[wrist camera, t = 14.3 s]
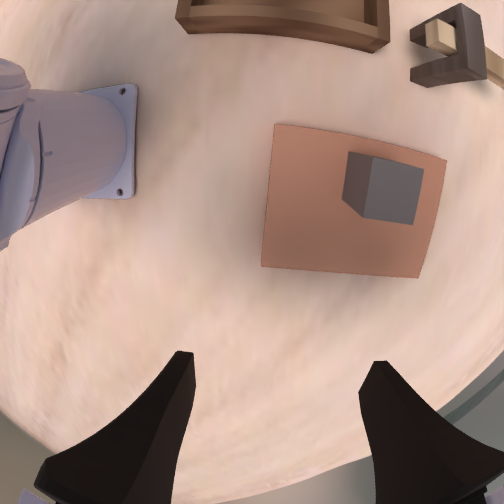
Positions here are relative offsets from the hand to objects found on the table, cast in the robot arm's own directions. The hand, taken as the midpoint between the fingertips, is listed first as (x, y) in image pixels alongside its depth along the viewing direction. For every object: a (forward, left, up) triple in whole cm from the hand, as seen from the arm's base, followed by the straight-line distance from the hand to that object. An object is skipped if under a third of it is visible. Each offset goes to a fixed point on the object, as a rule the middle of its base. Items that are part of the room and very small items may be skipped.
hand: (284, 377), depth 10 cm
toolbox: (+1, +19, -10) cm, 22 cm away
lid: (+5, +5, -11) cm, 13 cm away
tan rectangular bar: (+11, +17, -6) cm, 21 cm away
